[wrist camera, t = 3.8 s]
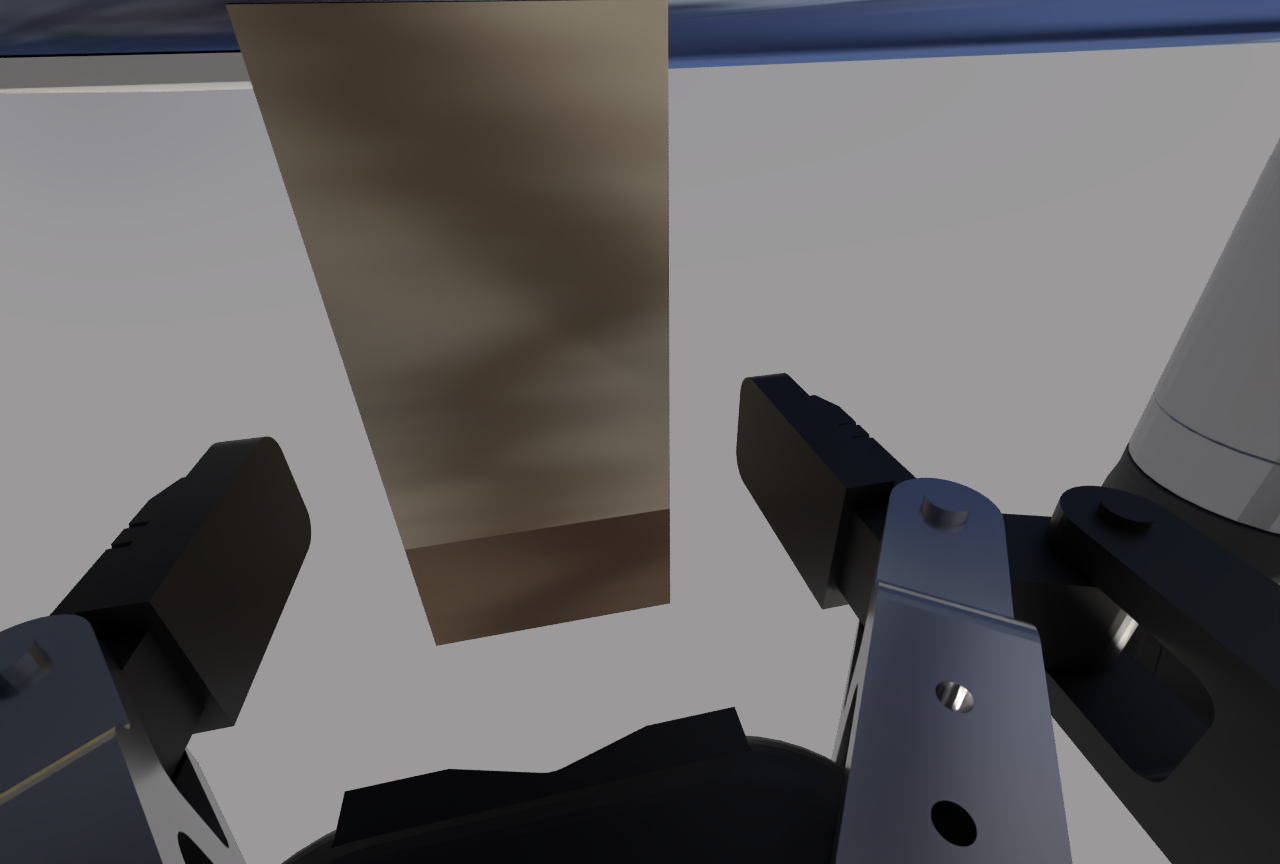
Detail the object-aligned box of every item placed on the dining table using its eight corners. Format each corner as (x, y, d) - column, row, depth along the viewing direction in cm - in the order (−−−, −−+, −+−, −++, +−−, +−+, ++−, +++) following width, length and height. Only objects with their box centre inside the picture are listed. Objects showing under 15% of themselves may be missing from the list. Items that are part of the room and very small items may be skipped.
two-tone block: (668, -1, 8) (669, 603, 14) (606, 33, 13) (628, 474, 19) (225, 5, 7) (436, 645, 13) (337, 38, 12) (453, 499, 18)
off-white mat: (520, 45, 15) (523, 73, 15) (512, 66, 28) (514, 80, 29) (-218, 62, 12) (-196, 94, 13) (156, 76, 26) (162, 91, 26)
